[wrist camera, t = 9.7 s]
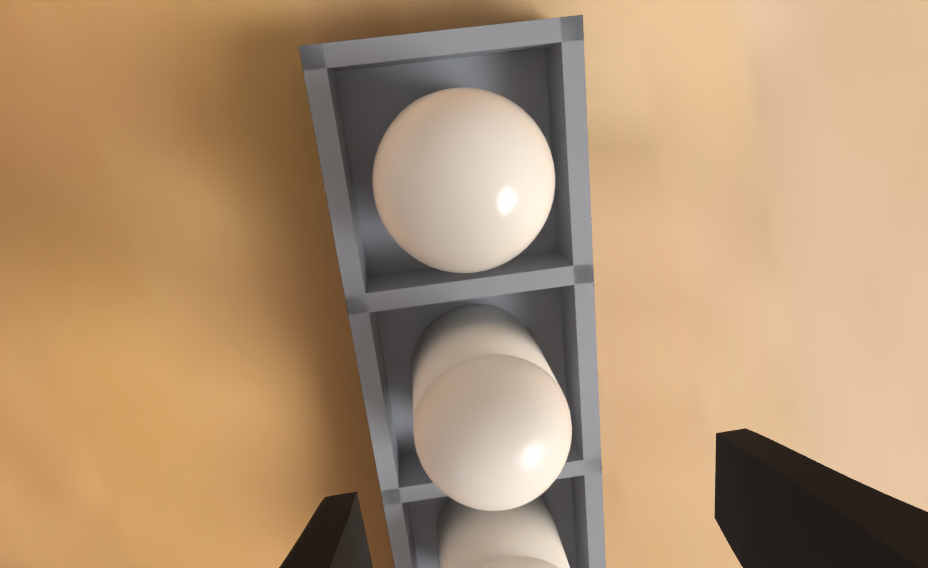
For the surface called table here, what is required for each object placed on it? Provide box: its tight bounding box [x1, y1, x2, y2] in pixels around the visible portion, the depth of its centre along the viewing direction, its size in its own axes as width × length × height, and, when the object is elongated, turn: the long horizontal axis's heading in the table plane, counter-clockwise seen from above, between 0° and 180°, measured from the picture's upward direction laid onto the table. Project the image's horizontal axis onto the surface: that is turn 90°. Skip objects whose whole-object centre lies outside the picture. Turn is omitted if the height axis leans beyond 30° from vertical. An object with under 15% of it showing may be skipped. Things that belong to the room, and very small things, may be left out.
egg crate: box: [299, 15, 606, 568], centre depth 17 cm, size 7×21×7 cm, turn 6°
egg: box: [372, 87, 555, 273], centre depth 15 cm, size 4×4×6 cm
